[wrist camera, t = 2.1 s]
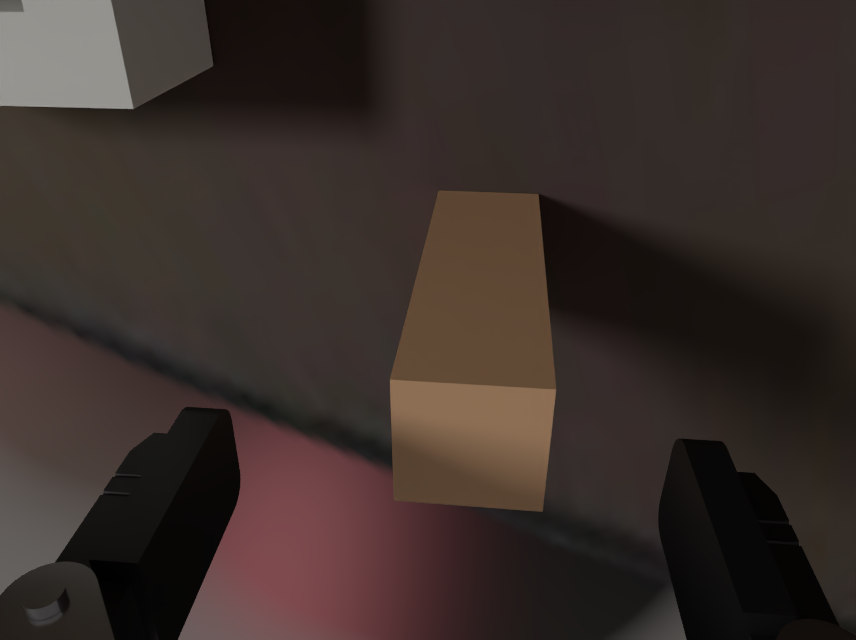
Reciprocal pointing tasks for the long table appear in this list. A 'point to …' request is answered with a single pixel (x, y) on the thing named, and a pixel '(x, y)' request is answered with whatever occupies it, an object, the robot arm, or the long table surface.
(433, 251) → the peg
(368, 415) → the long table surface
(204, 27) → the socket
